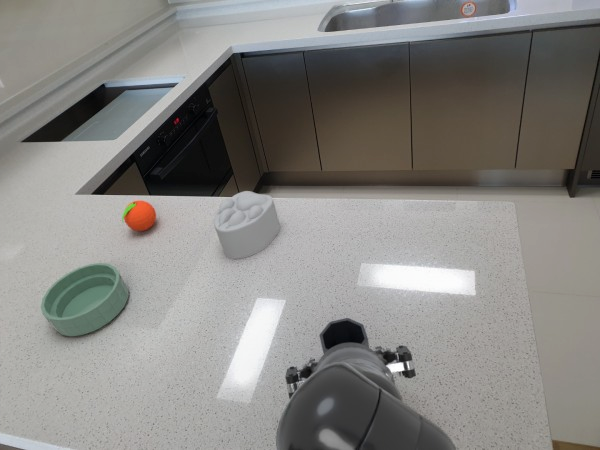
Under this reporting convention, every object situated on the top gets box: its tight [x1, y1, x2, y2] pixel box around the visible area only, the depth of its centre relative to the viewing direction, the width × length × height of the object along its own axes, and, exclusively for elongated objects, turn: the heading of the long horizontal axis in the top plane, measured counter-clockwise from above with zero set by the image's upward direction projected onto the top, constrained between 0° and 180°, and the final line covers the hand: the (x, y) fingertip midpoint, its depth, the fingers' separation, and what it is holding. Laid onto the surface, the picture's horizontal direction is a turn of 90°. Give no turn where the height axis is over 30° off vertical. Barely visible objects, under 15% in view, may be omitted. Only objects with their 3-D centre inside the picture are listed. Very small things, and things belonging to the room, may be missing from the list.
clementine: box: [121, 200, 157, 232], centre depth 103 cm, size 8×7×7 cm
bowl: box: [40, 262, 129, 337], centre depth 86 cm, size 14×14×5 cm
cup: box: [319, 317, 370, 354], centre depth 63 cm, size 6×6×8 cm
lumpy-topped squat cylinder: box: [213, 190, 281, 260], centre depth 93 cm, size 10×13×9 cm
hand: (346, 361), depth 59 cm, fingers open, 8 cm apart
